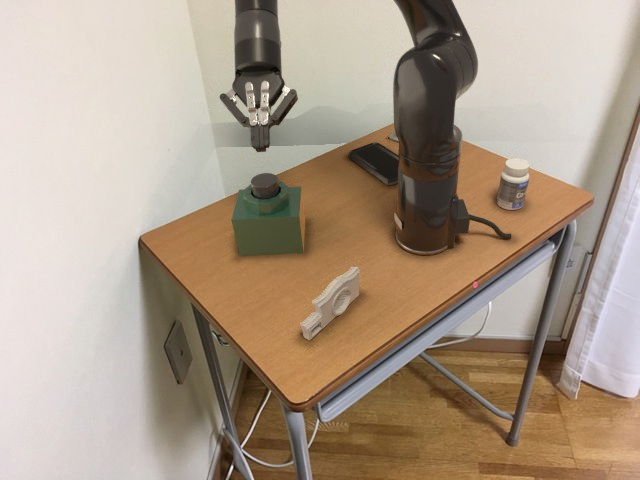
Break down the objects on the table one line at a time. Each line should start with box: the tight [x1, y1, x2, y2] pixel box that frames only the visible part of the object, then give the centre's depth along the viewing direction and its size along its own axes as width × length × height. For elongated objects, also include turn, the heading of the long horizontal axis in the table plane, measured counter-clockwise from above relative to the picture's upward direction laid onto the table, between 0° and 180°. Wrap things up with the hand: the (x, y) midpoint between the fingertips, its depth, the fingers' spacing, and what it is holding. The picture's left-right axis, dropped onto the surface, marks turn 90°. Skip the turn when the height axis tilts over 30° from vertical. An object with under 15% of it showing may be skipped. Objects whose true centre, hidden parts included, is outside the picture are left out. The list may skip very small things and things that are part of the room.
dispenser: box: [231, 179, 306, 257], centre depth 88 cm, size 11×9×10 cm
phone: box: [348, 142, 399, 186], centre depth 108 cm, size 8×1×15 cm
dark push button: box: [250, 172, 279, 200], centre depth 85 cm, size 4×4×2 cm
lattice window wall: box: [299, 266, 361, 341], centre depth 74 cm, size 12×2×6 cm, turn 139°
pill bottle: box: [496, 157, 531, 211], centre depth 92 cm, size 5×5×8 cm
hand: (260, 150), depth 82 cm, fingers closed
